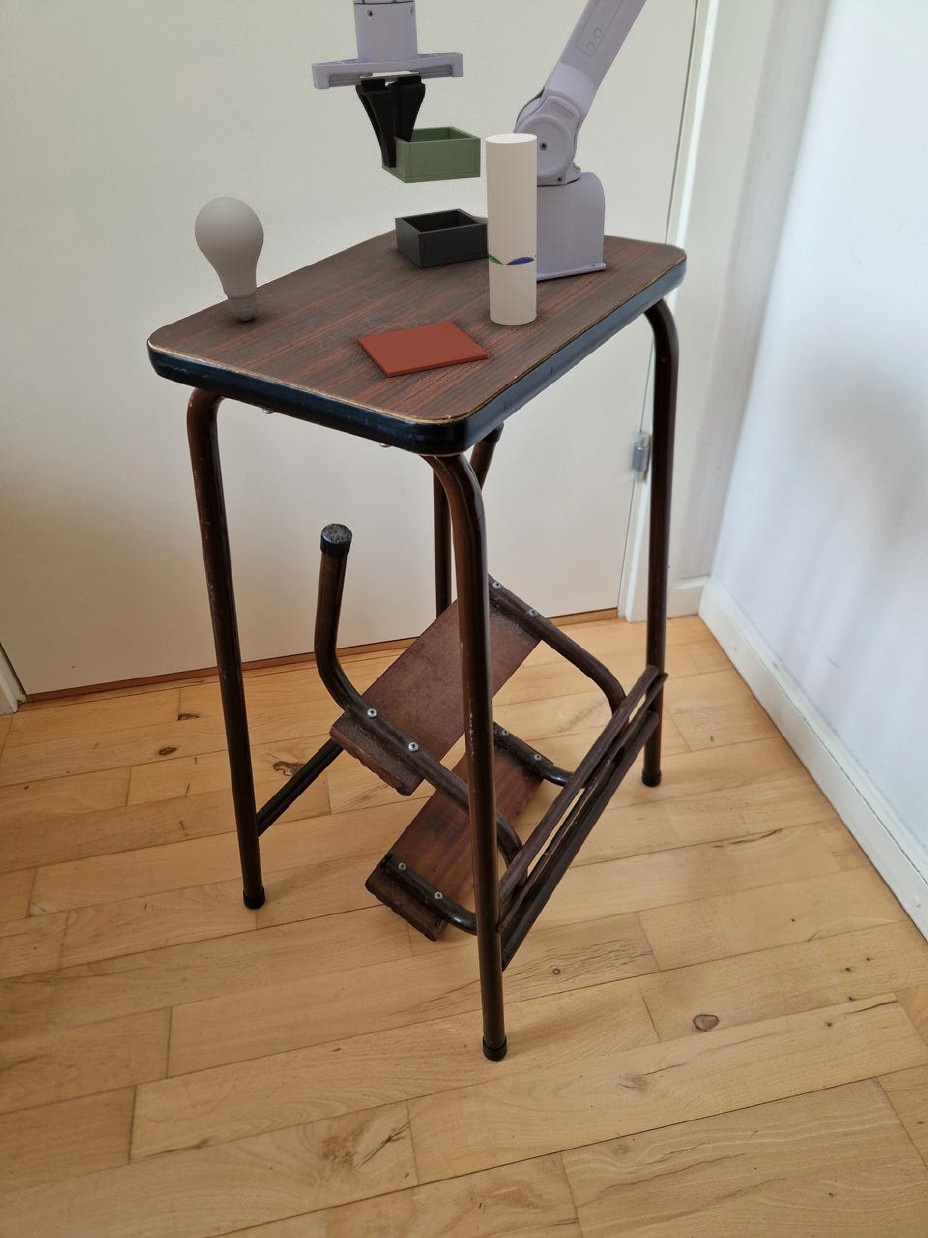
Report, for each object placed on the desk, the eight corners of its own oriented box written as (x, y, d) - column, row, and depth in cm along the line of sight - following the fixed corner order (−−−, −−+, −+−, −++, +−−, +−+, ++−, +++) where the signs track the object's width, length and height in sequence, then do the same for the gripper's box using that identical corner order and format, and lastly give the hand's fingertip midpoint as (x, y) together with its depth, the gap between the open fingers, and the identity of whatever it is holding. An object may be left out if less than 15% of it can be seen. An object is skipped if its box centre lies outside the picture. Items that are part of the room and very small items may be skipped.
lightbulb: (264, 332, 83) (240, 206, 76) (204, 330, 84) (175, 206, 77) (287, 310, 88) (267, 189, 81) (229, 308, 89) (205, 189, 82)
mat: (450, 324, 82) (449, 320, 82) (488, 357, 75) (487, 353, 75) (357, 342, 80) (356, 337, 79) (388, 377, 73) (387, 372, 73)
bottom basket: (461, 239, 104) (460, 207, 102) (487, 256, 99) (486, 223, 96) (397, 249, 102) (394, 217, 100) (420, 268, 96) (418, 234, 94)
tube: (500, 307, 85) (496, 132, 76) (542, 311, 84) (543, 133, 75) (483, 322, 82) (477, 142, 73) (527, 327, 81) (526, 143, 71)
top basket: (452, 162, 95) (452, 125, 93) (480, 176, 89) (480, 138, 87) (381, 168, 93) (379, 130, 91) (405, 183, 87) (403, 143, 85)
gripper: (442, -5, 86) (449, 150, 94) (296, 4, 82) (316, 165, 91) (469, -2, 81) (473, 162, 89) (314, 8, 77) (334, 179, 85)
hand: (395, 165), depth 89 cm, fingers closed on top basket
